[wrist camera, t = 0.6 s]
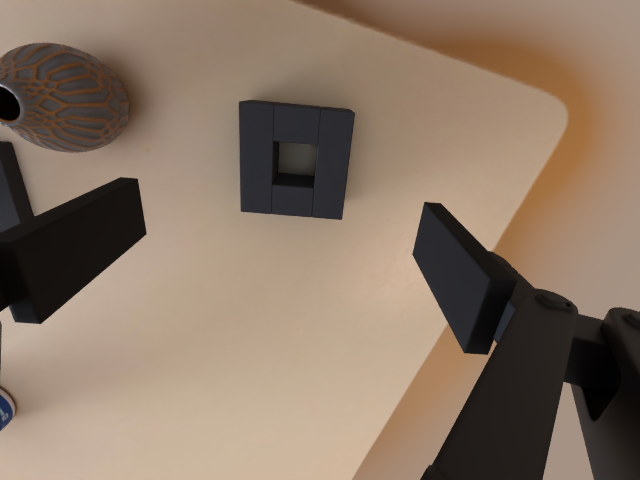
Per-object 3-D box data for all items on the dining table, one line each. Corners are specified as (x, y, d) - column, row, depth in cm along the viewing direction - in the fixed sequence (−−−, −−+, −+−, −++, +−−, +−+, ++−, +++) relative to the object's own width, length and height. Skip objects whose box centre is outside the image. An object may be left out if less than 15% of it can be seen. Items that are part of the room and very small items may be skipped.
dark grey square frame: (250, 99, 26) (238, 101, 22) (350, 109, 26) (355, 112, 23) (250, 196, 29) (240, 211, 26) (339, 204, 30) (341, 220, 26)
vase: (96, 158, 28) (6, 185, 20) (34, 77, 25) (-98, 71, 17) (161, 120, 27) (92, 133, 19) (102, 31, 24) (-6, 2, 16)
